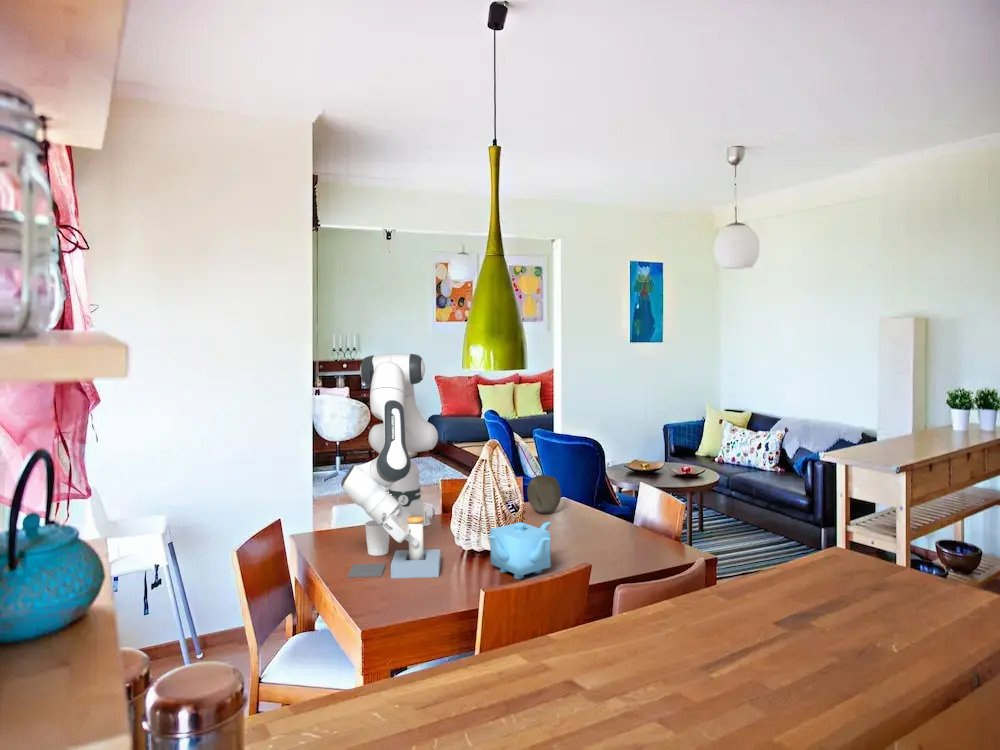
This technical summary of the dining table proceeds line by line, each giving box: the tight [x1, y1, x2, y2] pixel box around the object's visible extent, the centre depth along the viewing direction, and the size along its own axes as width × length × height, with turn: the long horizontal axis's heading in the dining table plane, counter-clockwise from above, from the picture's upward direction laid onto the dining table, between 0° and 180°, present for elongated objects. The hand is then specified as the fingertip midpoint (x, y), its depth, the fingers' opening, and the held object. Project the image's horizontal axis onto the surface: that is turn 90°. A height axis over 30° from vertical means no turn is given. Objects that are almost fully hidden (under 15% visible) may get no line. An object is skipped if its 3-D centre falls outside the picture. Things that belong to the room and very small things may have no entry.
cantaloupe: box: [526, 474, 562, 515], centre depth 277 cm, size 14×14×15 cm
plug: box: [407, 515, 425, 560], centre depth 211 cm, size 5×5×16 cm
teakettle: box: [486, 521, 552, 580], centre depth 208 cm, size 19×19×15 cm
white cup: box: [364, 519, 390, 557], centre depth 228 cm, size 8×8×10 cm
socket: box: [390, 548, 442, 579], centre depth 211 cm, size 14×14×4 cm
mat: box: [347, 562, 387, 578], centre depth 211 cm, size 10×10×1 cm
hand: (418, 541), depth 211 cm, fingers closed on plug, 4 cm apart
